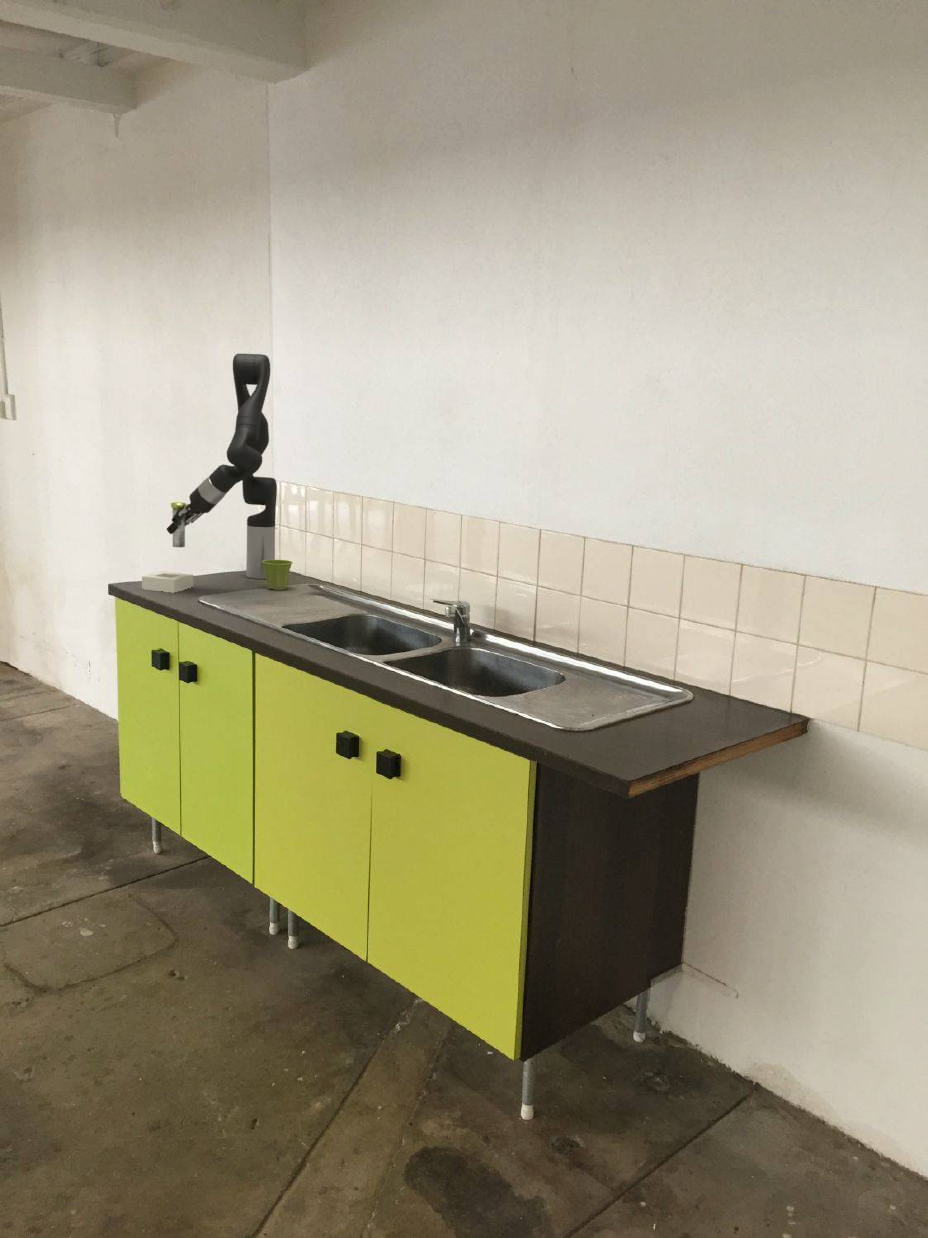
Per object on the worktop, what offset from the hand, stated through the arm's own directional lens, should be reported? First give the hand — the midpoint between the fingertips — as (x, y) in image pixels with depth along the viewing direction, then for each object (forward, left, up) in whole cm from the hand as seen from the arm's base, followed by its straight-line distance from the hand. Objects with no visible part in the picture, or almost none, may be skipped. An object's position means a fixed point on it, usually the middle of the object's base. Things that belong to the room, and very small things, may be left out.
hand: (172, 530), depth 317 cm
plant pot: (-17, +27, -18) cm, 37 cm away
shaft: (0, +2, -5) cm, 5 cm away
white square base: (+1, -1, -18) cm, 18 cm away
